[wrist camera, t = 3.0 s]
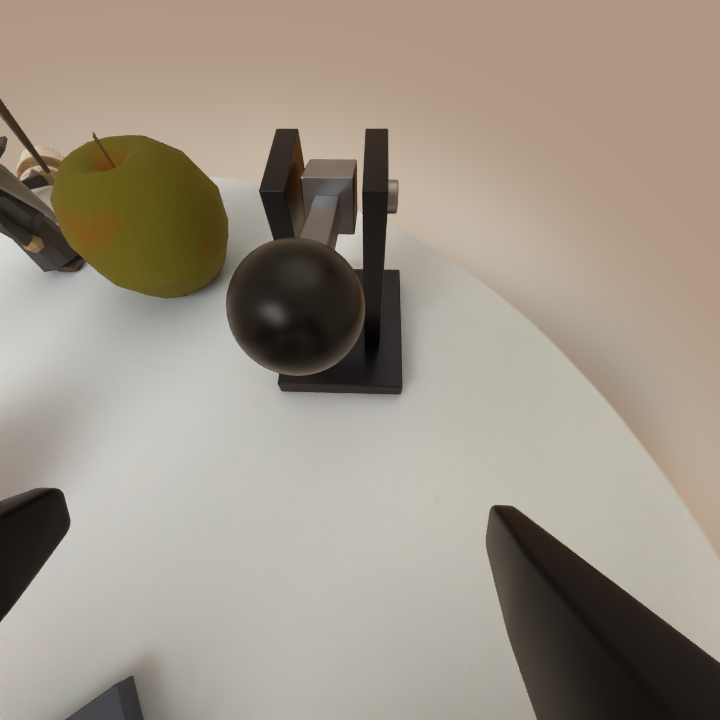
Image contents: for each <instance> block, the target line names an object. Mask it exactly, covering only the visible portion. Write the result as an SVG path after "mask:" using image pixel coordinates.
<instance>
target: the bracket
mask: <svg viewBox="0 0 720 720" xmlns="http://www.w3.org/2000/svg"><path fill="white" fill-rule="evenodd" d="M304 169H305V168H304V162H303V156H302V150H301V144H300V138H299V132H298V129H276V133H275V136H274V140H273V144H272V147H271V150H270V154H269V158H268V161H267V165H266V168H265V172H264V176H263V179H262V182H261V186H260V190H259V192H260V196H261V199H262V202H263V206H264V209H265V212H266V216H267V219H268V222H269V226H270V229H271V232H272V236H273V239H274V240H277V239H281V238H289V237H299V234H300V232H301V230H302V227H303V225H304V222H305V218H304V209H303V201H302V192H301V183H300V176H301V174H302V173H303V171H304ZM363 171H364V172H363V189H362V201H363V202H362V204H363V269H353V270H354V272H355V273H356V275H357V277H358V279H359V281H360V284H361V287H362V290H363V294H364V301H365V317H364V323H363V327H362V330H361V333H360V335H359V337H358V340H357V341H356V343H355V345H354V346H353V348H352V349H351V350H350V351H349V353H348V354H347V355H346V356H345V357H344V358H343V359H342V360H340V361H339V362H338V363H336V364H335V365H333V366H331V367H330V368H328V369H326V370H323V371H321V372H318V373H315V374H310V375H302V376H294V375H286V374H281V373H279V379H278V385H279V387H280V389H281V391H295V392H333V393H371V394H401V391H402V350H401V311H400V271H399V270H384V260H385V243H386V226H387V214H388V213H389V214H391V213H392V214H395V213H396V212H397V205H398V180H388V129H366V131H365V151H364V170H363Z"/></svg>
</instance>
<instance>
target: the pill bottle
mask: <svg viewBox="0 0 720 720" xmlns="http://www.w3.org/2000/svg"><path fill="white" fill-rule="evenodd" d="M33 147H34V148H35V149H36V151H37V152H38V154H39V155H40V157H41V158H42V159H43V161H44V162H45V164H46V165H47V167H48V168H49V169H53V170H54V171H56V172H57V171H58V167H59V164H60V162H61V161H62V160H63V159H64V157H63V156H62V155H61V154H60V153H58V152H57V151H55V150H53V149H51V148H49V147H46V146H38V145H37V146H33ZM41 170H43V169H42V168H41V166H40V165H39V164H38V163H37V161H36V160H35V159H34V158H33V156H32V155H31V154H30V153H29V151H28V150H27V149H25V150H24V151H23V153H22V155H21V160H20V161H19V163H18V166H17V178H18V179H19V180H20V181H22V180H23V179H25V178H26V177H28V176H30V175H31V174H33V173H35V172H37V173H38V172H39V171H41ZM52 189H53V186H50V185H49V186H45V187H40V188H36V189H32V190H31V191H32V192H33V193H34V194H36V195H37V196H38V197H39V198H40V199H41V200H42V201H43V202H44V203H45V204H46V205H47V206H49V207H50V208H51V210H52V211H53V212H54V210H53V207H52V204H51V202H50V197H51V193H52ZM45 215H46V214H45ZM46 216H47V215H46ZM47 217H48V216H47ZM48 218H49V217H48ZM56 224H57V223H56ZM57 225H58V226H59V224H57Z"/></svg>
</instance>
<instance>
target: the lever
mask: <svg viewBox="0 0 720 720" xmlns="http://www.w3.org/2000/svg"><path fill="white" fill-rule="evenodd" d="M300 183H301V192H302V201H303V209H304V218H305V222H304V225H303V227H302V230H301V232H300V234H299V237H289V238H281V239H277V240H273V241H271V242H268V243H265V244H263V245H261V246H259V247H258V248H256V249H255V250H253V251H252V252H251V253H250V254H249V255H247V256H246V257H245V258H244V259H243V261H242V262H241V263H240V264H239V266H238V267H237V269H236V270H235V272H234V274H233V276H232V279H231V281H230V284H229V288H228V292H227V299H226V310H227V318H228V322H229V326H230V329H231V331H232V333H233V336H234V337H235V339H236V341H237V343H238V344H239V346H240V347H241V348H242V349H243V351H244V352H245V353H246V354H247V355H248V356H249V357H250V358H251V359H253V360H254V361H255V362H257V363H258V364H259V365H261V366H263V367H265V368H267V369H269V370H271V371H274V372H277V373H281V374H286V375H294V376H302V375H310V374H315V373H318V372H321V371H323V370H326V369H328V368H330V367H331V366H333V365H335V364H336V363H338V362H339V361H340V360H342V359H343V358H344V357H345V356H346V355H347V354H348V353H349V351H350V350H351V349H352V348H353V346H354V345H355V343H356V341H357V340H358V337H359V335H360V333H361V330H362V327H363V323H364V317H365V301H364V294H363V290H362V287H361V284H360V281H359V279H358V277H357V275H356V273H355V272H354V270H353V268H352V267H351V266H350V264H349V263H348V262H347V261H346V260H345V259H344V258H343V257H342V256H341V255H340V254H339V253H337V252H336V251H335V246H336V241H337V237H338V234H354V233H355V225H356V217H357V161H356V160H324V159H320V160H319V159H314V160H313V159H312V160H310V161H309V162H308V164H307V166H306V168H305V169H304V171H303V173H302V174H301V176H300Z"/></svg>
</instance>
